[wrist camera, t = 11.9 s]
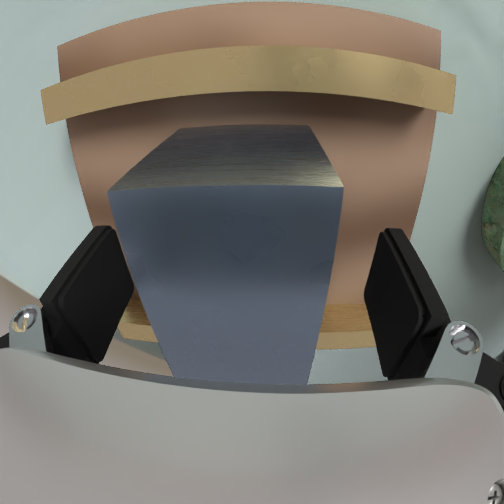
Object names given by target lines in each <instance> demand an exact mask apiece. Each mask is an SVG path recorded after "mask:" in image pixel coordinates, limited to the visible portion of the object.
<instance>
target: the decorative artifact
mask: <svg viewBox="0 0 504 504" xmlns="http://www.w3.org/2000/svg"><path fill="white" fill-rule="evenodd" d="M482 236H483V241H484V244H485V246H486V248H487V250H488V252H489V253H490V254H491V255H492V257H493V258H494V259H495V261H496V262H497V263H498V265H499V266H500V267H501V269H502V270H503V272H504V157H503V159H502V160H501V162H500V164H499V165H498V167H497V169H496V171H495V173H494V175H493V177H492V180H491V182H490V185H489V188H488V191H487V194H486V197H485V201H484V206H483V212H482Z"/></svg>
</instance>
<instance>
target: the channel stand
mask: <svg viewBox="0 0 504 504" xmlns="http://www.w3.org/2000/svg"><path fill="white" fill-rule="evenodd" d="M57 49H58V62H59V73H60V83H57V84H55V85H52V86H50V87H47V88H45V89H42V90H41V96H42V103H43V109H44V115H45V121H46V125H47V124H50V123H53V122H56V121H60V120H63V119H66V122H67V128H68V133H69V138H70V143H71V147H72V152H73V156H74V161H75V165H76V169H77V173H78V177H79V181H80V185H81V188H82V192H83V195H84V199H85V202H86V206H87V209H88V212H89V216H90V219H91V222H92V225H93V228H94V227H95V226H100V225H109V226H111V227H112V229H114V230H115V231H116V233H117V236H118V239H119V242H120V245H121V248H122V252H123V255H124V258H125V261H126V263H127V260H126V257H125V254H124V251H123V247H122V244H121V241H120V238H119V235H118V231H117V228H116V225H115V221H114V218H113V214H112V210H111V207H110V203H109V199H108V195H107V191H108V190H109V189H110V188H111V187H112V186H113V185H114V184H115V183H116V182H117V181H118V180H119V179H120V178H122V177H123V176H124V175H125V174H126V173H127V172H128V171H129V170H130V169H131V168H133V167H134V166H135V165H136V164H137V163H138V162H139V161H141V160H142V159H143V158H144V157H145V156H146V155H148V154H149V153H150V152H151V151H152V150H153V149H155V148H156V147H157V146H158V145H160V144H161V143H162V142H163V141H164V140H166V139H167V138H168V137H169V136H171V135H172V134H173V133H175V132H176V131H177V130H178V129H180V128H189V127H203V126H219V125H247V124H287V125H309V126H310V128H311V130H312V131H313V133H314V135H315V136H316V138H317V140H318V141H319V143H320V145H321V146H322V148H323V150H324V151H325V153H326V155H327V157H328V158H329V160H330V162H331V164H332V166H333V167H334V169H335V171H336V173H337V175H338V176H339V178H340V180H341V182H342V184H343V186H344V193H343V201H342V209H341V216H340V223H339V230H338V237H337V243H336V249H335V256H334V261H333V267H332V273H331V278H330V284H329V289H328V294H327V299H326V304H325V309H324V314H323V319H322V323H321V328H320V332H319V337H318V341H317V346H316V349H345V348H364V347H376V343H375V339H374V335H373V331H372V327H371V323H370V319H369V316H368V312H367V308H366V305H365V301H364V289H365V285H366V282H367V278H368V275H369V271H370V268H371V264H372V260H373V256H374V253H375V249H376V245H377V241H378V236H379V234H380V232H384V230H385V229H386V228H400V229H402V230H403V231H404V233H405V235H406V236H407V238H408V239H409V241H410V237H411V234H412V230H413V227H414V223H415V219H416V216H417V212H418V208H419V204H420V200H421V196H422V191H423V187H424V182H425V178H426V173H427V168H428V163H429V158H430V152H431V146H432V140H433V134H434V127H435V119H436V111H440V112H444V113H448V114H453V106H454V97H455V85H456V75H453V74H450V73H447V72H444V71H441V70H440V56H441V31H440V30H437V29H434V28H431V27H428V26H425V25H422V24H419V23H415V22H412V21H408V20H405V19H401V18H397V17H393V16H389V15H384V14H380V13H375V12H370V11H365V10H359V9H353V8H347V7H340V6H332V5H323V4H312V3H296V2H243V3H228V4H216V5H207V6H199V7H192V8H186V9H180V10H174V11H169V12H164V13H159V14H154V15H150V16H146V17H141V18H138V19H134V20H130V21H126V22H123V23H119V24H116V25H113V26H110V27H107V28H104V29H101V30H98V31H95V32H92V33H89V34H86V35H84V36H81V37H79V38H76V39H74V40H71V41H69V42H66V43H64V44H62V45H59V46H57ZM127 266H128V263H127ZM128 269H129V266H128ZM129 272H130V275H131V278H132V281H133V283H134V280H133V277H132V274H131V271H130V269H129ZM117 327H118V329H119V331H120V333H121V335H122V337H123V338H126V339H133V340H141V341H149V342H158V341H157V338H156V336H155V334H154V331H153V329H152V327H151V324H150V322H149V319H148V317H147V314H146V312H145V309H144V307H143V304H142V302H141V299H140V296H139V294H138V291H137V288H136V285H135V283H134V292H133V294H132V296H131V299H130V301H129V303H128V305H127V307H126V309H125V311H124V313H123V316H122V318H121V320H120V322H119V324H118V326H117Z"/></svg>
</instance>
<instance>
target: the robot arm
mask: <svg viewBox="0 0 504 504" xmlns="http://www.w3.org/2000/svg"><path fill="white" fill-rule="evenodd" d="M133 292H134V283H133V281H132V278H131V275H130V272H129V269H128V266H127V263H126V261H125V258H124V255H123V252H122V248H121V245H120V242H119V239H118V236H117V233H116V231H115V230H114V229H112V227H111V226H109V225H100V226H95V227H94V228H93V229H92V230H91V232H90V233H89V234H88V235H87V236H86V238H85V239H84V240H83V241H82V243H81V244H80V245H79V246H78V248H77V249H76V250H75V251H74V253H73V254H72V255H71V256H70V258H69V259H68V260H67V262H66V263H65V264H64V266H63V267H62V268H61V270H60V271H59V272H58V274H57V275H56V276H55V278H54V279H53V281H52V282H51V283H50V285H49V286H48V288H47V289H46V290H45V292H44V293H43V295H42V296H41V298H40V299H39V300H40V302H41V303H42V305H43V307H42V309H40V308H39V307H38V306H37V305H34V304H31V305H27V306H24V307H22V308H21V309H19V310H18V311H17V312H16V313H15V314H14V316H13V317H12V319H11V321H10V325H9V333H7V334H6V335H4V336H2V337H0V504H504V365H502V364H501V363H499V362H498V361H496V360H494V359H493V358H491V357H490V356H488V355H487V354H485V353H484V352H483V350H484V342H483V338H482V336H481V334H480V333H479V331H478V330H477V329H476V328H475V327H474V326H472V325H471V324H470V323H467V322H465V321H453V322H451V321H450V319H449V317H448V313H447V311H446V308H445V306H444V304H443V302H442V300H441V298H440V296H439V294H438V292H437V290H436V288H435V286H434V284H433V282H432V280H431V279H430V277H429V275H428V273H427V271H426V269H425V267H424V266H423V264H422V262H421V260H420V258H419V257H418V255H417V253H416V251H415V250H414V248H413V246H412V245H411V243H410V241H409V239H408V238H407V236H406V235H405V233H404V231H403V230H402V229H400V228H386V229H385V230H384V232H380V234H379V236H378V241H377V245H376V249H375V253H374V256H373V260H372V264H371V268H370V271H369V275H368V278H367V282H366V285H365V289H364V301H365V305H366V308H367V312H368V316H369V319H370V323H371V327H372V331H373V335H374V339H375V343H376V347H377V351H378V356H379V360H380V365H381V369H382V373H383V376H384V377H388V381H376V382H361V383H342V384H314V385H277V384H248V383H231V382H217V381H206V380H196V379H187V378H178V377H170V376H163V375H156V374H149V373H143V372H137V371H131V370H126V369H120V368H115V367H110V366H105V365H100V364H99V362H100V361H102V360H103V359H104V356H105V354H106V351H107V349H108V347H109V344H110V342H111V340H112V338H113V335H114V333H115V331H116V329H117V326H118V324H119V322H120V320H121V318H122V316H123V313H124V311H125V309H126V307H127V305H128V303H129V301H130V299H131V296H132V294H133Z"/></svg>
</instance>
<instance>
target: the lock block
mask: <svg viewBox="0 0 504 504" xmlns="http://www.w3.org/2000/svg"><path fill="white" fill-rule="evenodd" d="M343 193H344V186H343V184H342V182H341V180H340V178H339V176H338V175H337V173H336V171H335V169H334V167H333V166H332V164H331V162H330V160H329V158H328V157H327V155H326V153H325V151H324V150H323V148H322V146H321V145H320V143H319V141H318V140H317V138H316V136H315V135H314V133H313V131H312V130H311V128H310V126H309V125H287V124H247V125H219V126H203V127H189V128H180V129H178V130H177V131H176V132H175V133H173V134H172V135H171V136H169V137H168V138H167V139H166V140H164V141H163V142H162V143H161V144H160V145H158V146H157V147H156V148H155V149H153V150H152V151H151V152H150V153H149V154H148V155H146V156H145V157H144V158H143V159H142V160H141V161H139V162H138V163H137V164H136V165H135V166H134V167H133V168H131V169H130V170H129V171H128V172H127V173H126V174H125V175H124V176H123V177H122V178H120V179H119V180H118V181H117V182H116V183H115V184H114V185H113V186H112V187H111V188H110V189H109V190H108V191H107V195H108V199H109V203H110V207H111V210H112V214H113V218H114V221H115V225H116V228H117V231H118V235H119V238H120V241H121V244H122V247H123V251H124V254H125V257H126V260H127V263H128V266H129V269H130V271H131V274H132V277H133V280H134V283H135V285H136V288H137V291H138V294H139V296H140V299H141V302H142V304H143V307H144V309H145V312H146V314H147V317H148V319H149V322H150V324H151V327H152V329H153V331H154V334H155V336H156V338H157V341H158V343H159V345H160V348H161V350H162V352H163V354H164V356H165V359H166V361H167V363H168V365H169V367H170V369H171V371H172V374H173V376H174V377H178V378H187V379H196V380H206V381H217V382H231V383H248V384H277V385H307V382H308V378H309V374H310V370H311V366H312V362H313V358H314V354H315V350H316V346H317V341H318V337H319V332H320V328H321V323H322V319H323V314H324V309H325V304H326V299H327V294H328V289H329V284H330V278H331V273H332V267H333V261H334V256H335V249H336V243H337V237H338V230H339V223H340V216H341V209H342V201H343Z"/></svg>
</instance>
